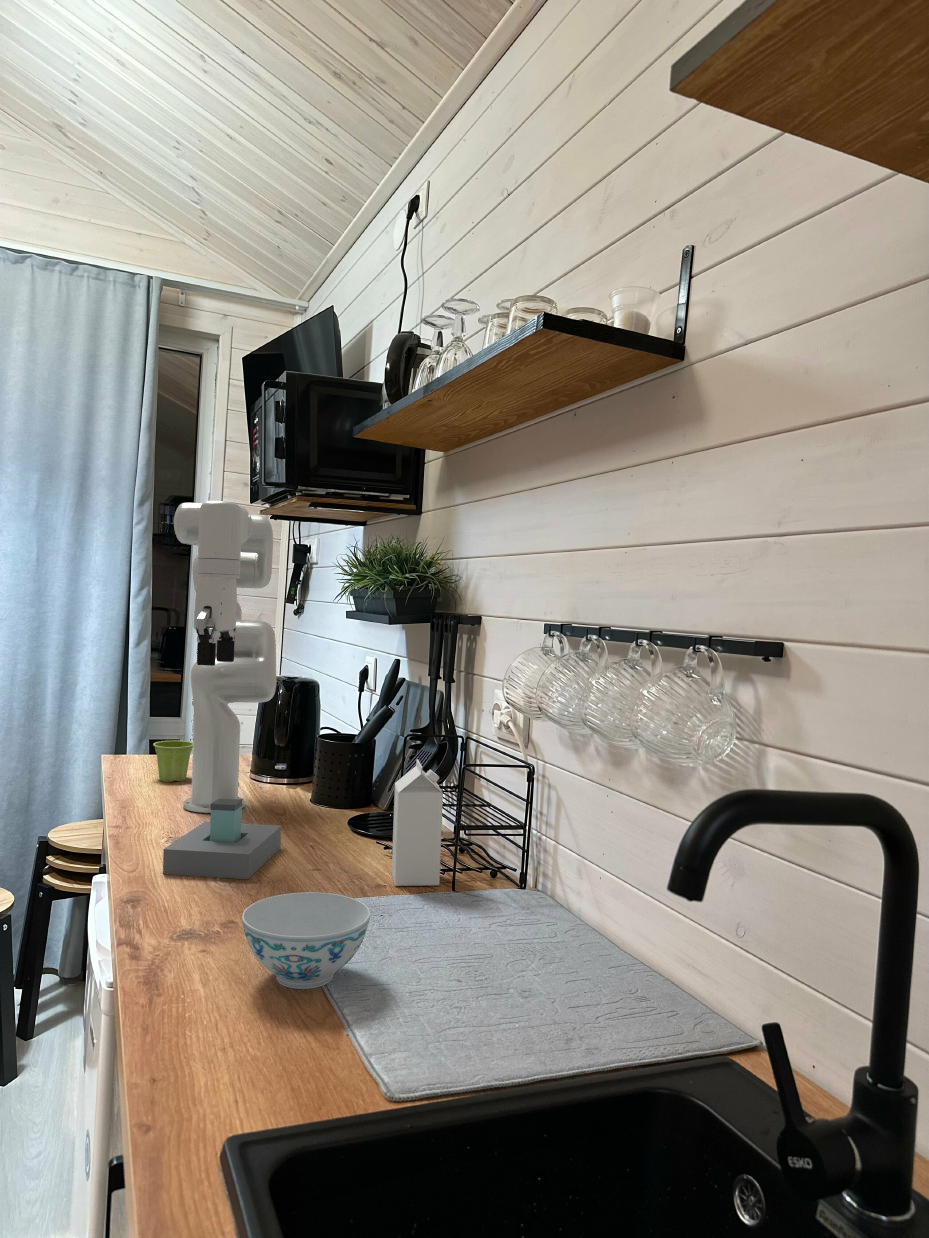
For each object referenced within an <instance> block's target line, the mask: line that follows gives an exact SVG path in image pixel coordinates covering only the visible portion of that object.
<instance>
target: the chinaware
mask: <svg viewBox="0 0 929 1238" xmlns="http://www.w3.org/2000/svg"><path fill="white" fill-rule="evenodd" d="M241 915H242V916H241V920H242V927H243V932H244V935H245V939H246V941H247V944H248V946H249V949H250V950H251V952H252V954H253V956H254V957H255V959H256V960H258V962H259V963H260V964H261V965H262V966H263V967H264V968H265V969H266V970H268V971H269V972H271V973H272V974H274V975H275V977H276V978H275V979H276V981H277V983H278V984H279V985H281V986H284V987H285V988H289V989H294V990H309V989H316V988H320V987H322V986H325V985H327V984H328V983H330V982H331V981H332V980H333V978H334V974H335V973H336V972H338V971H339V970H341V969H342V968H343V967H344V966H346V965H347V964H348V963H349V962H350V961H351V959H353V957H354V956H355V955H356V953H357V952H358V950H359V949H360V947H361V945H362V944H363V940H364V939H365V937H366V934H367V931H368V927H369V923H370V918H371V910H370V908H369V907H368V906H367V904H365V903H364V902H362V901H360V900H358V899H356V898H353V897H350V896H347V895H342V894H337V893H330V892H316V891H315V892H314V891H312V892H310V891H308V892H306V891H305V892H294V893H293V892H291V893H284V894H279V895H278V894H277V895H274V896H269V897H265V898H263V899H260V900H258V901H256V902H254V903H252V904H250V905H249V906H248V907H246V908H245V909H244V911H243V912H242V914H241Z"/></svg>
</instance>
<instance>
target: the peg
mask: <svg viewBox="0 0 929 1238" xmlns="http://www.w3.org/2000/svg"><path fill="white" fill-rule="evenodd" d="M242 811H243V808H242V800H239V799H217V800H216V801H214V802H213V803H211V813H210V821H209V822H210V841H218V842H235V843H237V842H239V841H240V840H241V824H242Z"/></svg>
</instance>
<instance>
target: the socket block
mask: <svg viewBox="0 0 929 1238" xmlns="http://www.w3.org/2000/svg"><path fill="white" fill-rule="evenodd" d="M210 822H211V821H203V822H202V823H200V824H199V825H197V826H195V828H193V829H191V830H190V831H188V832H187V833H186V834H184V835H182V836H181V837H180V838H177V840H175V841H174V842H172V843H170V844H169V845H167V846H166V847H164V848H163V852H162V853H163V855H162V857H163V859H162V863H163V864H162V874H164V875H174V876H188V877H189V876H191V877H207V878H208V877H209V878H220V879H221V878H223V879H236V880H238V879H239V880H249V879H250V878H252V876H253V875H254V874H256V872H258V871H259V870H260V869H261V868H262V867H263V866H264V865H265V864H266V863H267V862H268V861H269V860H270V859H271V858H272V857H273V856H274V855H275V854H276V853H277V852H278V851H279V850H280V849H281V844H282V839H281V838H282V825H271V824H267V825H266V824H254V823H253V824H252V823H250V824H249V823H241V840H240V841H239V842H237V843H235V842H218V841H210Z"/></svg>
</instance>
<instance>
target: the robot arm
mask: <svg viewBox="0 0 929 1238" xmlns="http://www.w3.org/2000/svg"><path fill="white" fill-rule="evenodd" d="M173 527H174V534H175V535H176V538H177V541H179V542H180V543H181V544H183V545H184V544H186V545H191V546H196V547H197V554H196V556H195V557H194V559H193V562H192V570H191V571H192V581H193V588H194V590H195V591H194V592H195V598H194V611H193V613H194V614H193V629H194V630H195V631H196V635H197V636H196V642H197V645H196V662H194V663H193V665H192V667H191V670H190V686H191V694H192V695H191V696H192V702H193V705H192V706H193V728H192V729H193V733H192V734H193V735H192V742H193V748H192V765H191V766H192V768H191V769H192V770H191V797H190V798H189V797H188V798H187V799H185V800H184V801H183V805H182V807H183V808H184V810H186V811H190V812H192V813H193V812H194V813H202V814H211V803H213V802H214V801H216V800H217V799H239V800H242V809H244V808H245V807H246V799H245V798H243V797H241V796H239V788H240V785H241V784H240V782H239V778H240V776H239V775H240V774H239V773H240V748H241V747H240V746H241V743H240V742H241V723H240V719H239V718H238V716H237V715H236V713H235V712H234V711H233V710H232V709H231V707H230V706H229V705H228V704H233V703H234V704H235V703H245V704H246V703H247V704H248V703H252V704H253V703H266V702H269V701H270V700H271V699H273V698H274V696H275V693H276V690H277V689H276V688H277V644H276V643H277V642H276V641H277V640H276V634H275V631H274V628H273V627H272V625H271V624H270V623H268V622H267V621H262V620H261V621H260V620H243V619H242V613H243V611H242V608H241V606H240V604H239V602H238V594H237V592H238V591H237V588H240V589H262V588H266V587H267V586H268V585H269V584H270V581H271V579H272V574H273V573H272V571H273V556H274V553H273V552H274V530H273V527H272V524H271V521H270V520H269V519H268V518H267V517H266V516H264V515H262V514H250V513H249V511H248V510H247V509H246V508H245V507H243V506H241V505H239V504H238V503H236V502H232V501H223V500H207V501H203V502H182V503H180V504H179V505H178V507H177V508H176V511H175V513H174V517H173Z"/></svg>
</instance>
